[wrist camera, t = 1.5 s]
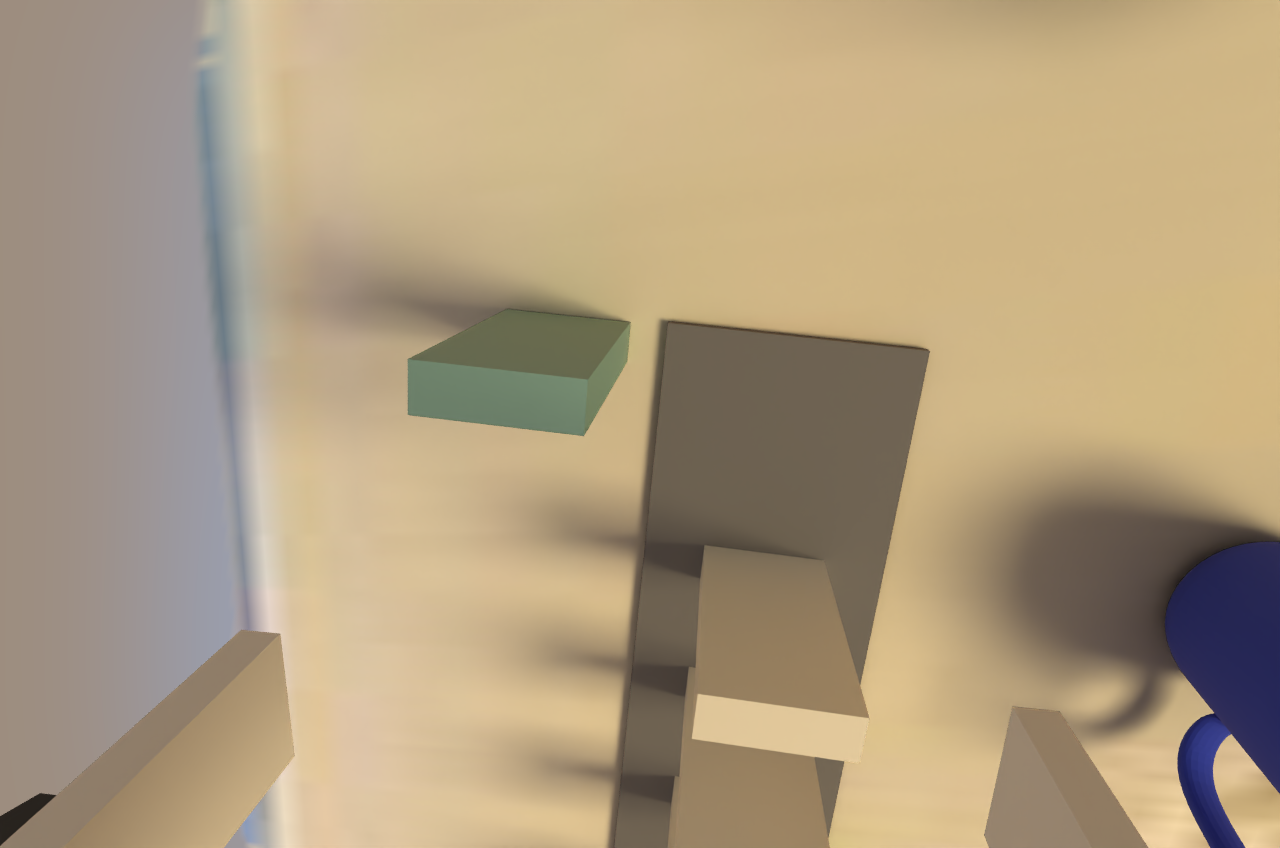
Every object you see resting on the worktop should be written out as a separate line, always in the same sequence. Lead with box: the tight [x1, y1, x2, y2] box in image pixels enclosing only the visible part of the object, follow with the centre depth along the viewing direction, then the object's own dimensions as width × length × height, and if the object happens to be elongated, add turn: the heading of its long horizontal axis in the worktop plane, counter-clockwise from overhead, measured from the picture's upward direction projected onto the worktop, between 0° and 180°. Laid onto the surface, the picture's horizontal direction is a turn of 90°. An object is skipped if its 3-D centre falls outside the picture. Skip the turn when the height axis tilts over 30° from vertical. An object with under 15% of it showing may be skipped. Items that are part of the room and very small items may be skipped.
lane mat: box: [614, 321, 930, 848], centre depth 34 cm, size 34×10×1 cm, turn 175°
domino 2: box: [674, 667, 830, 848], centre depth 29 cm, size 2×5×10 cm, turn 85°
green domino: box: [408, 309, 631, 436], centre depth 25 cm, size 2×5×10 cm, turn 85°
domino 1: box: [692, 545, 869, 764], centre depth 27 cm, size 2×5×10 cm, turn 85°
